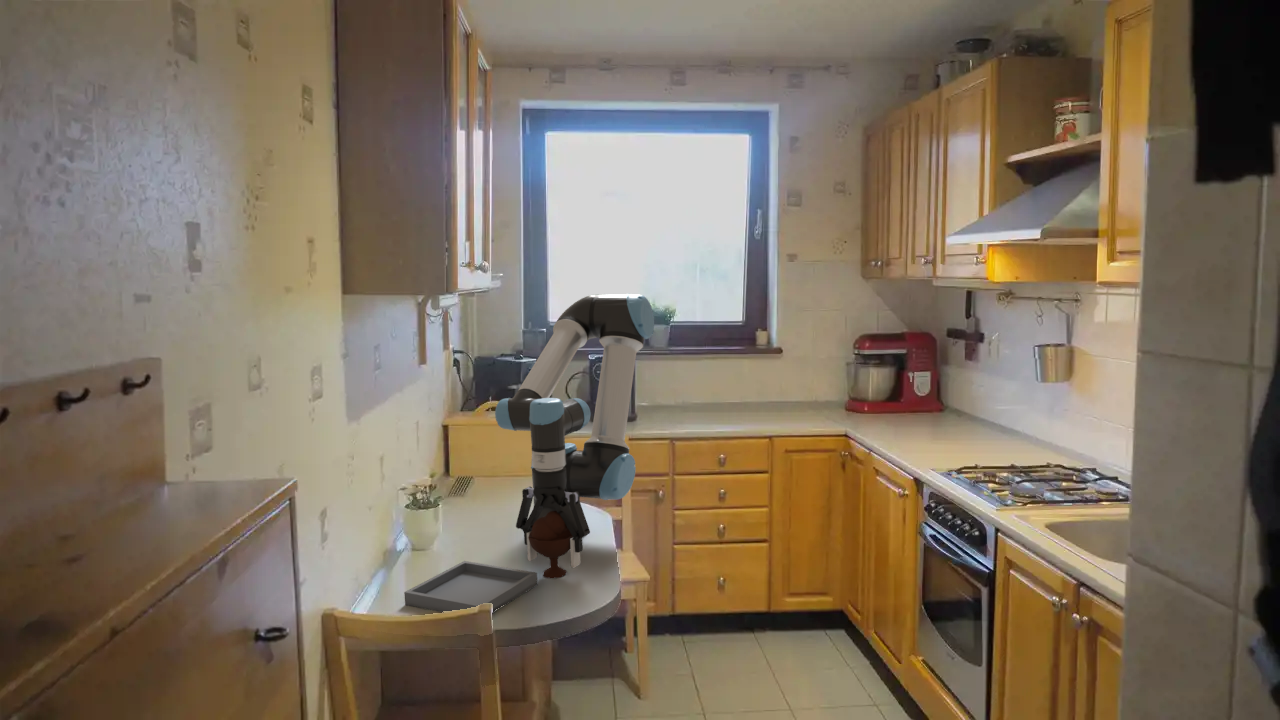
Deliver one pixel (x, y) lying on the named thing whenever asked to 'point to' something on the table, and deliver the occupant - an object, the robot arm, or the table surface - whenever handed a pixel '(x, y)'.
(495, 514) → the table surface
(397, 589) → the table surface
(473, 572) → the tray
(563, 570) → the ice cream bowl
